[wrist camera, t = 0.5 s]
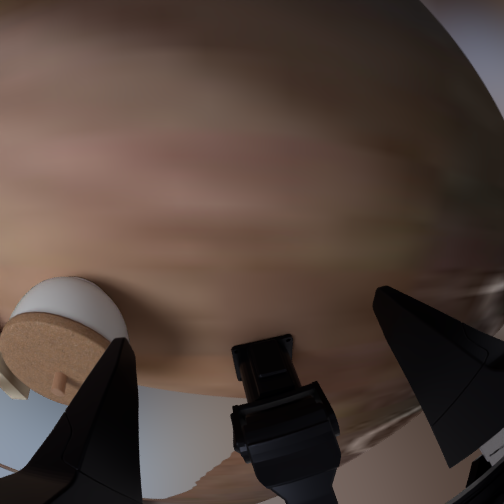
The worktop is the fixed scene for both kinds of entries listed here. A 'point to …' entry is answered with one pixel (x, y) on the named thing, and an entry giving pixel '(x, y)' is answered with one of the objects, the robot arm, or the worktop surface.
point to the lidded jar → (60, 335)
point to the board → (12, 382)
